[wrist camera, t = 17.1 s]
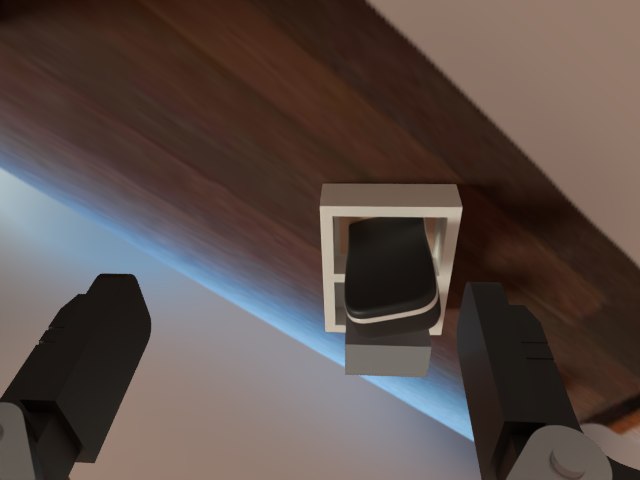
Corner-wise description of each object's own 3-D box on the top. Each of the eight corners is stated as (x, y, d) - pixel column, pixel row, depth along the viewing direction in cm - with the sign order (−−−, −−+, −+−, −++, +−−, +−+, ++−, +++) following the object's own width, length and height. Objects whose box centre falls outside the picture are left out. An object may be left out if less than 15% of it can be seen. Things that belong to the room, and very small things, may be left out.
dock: (327, 306, 52) (321, 386, 44) (322, 183, 43) (313, 257, 35) (436, 309, 51) (449, 391, 43) (456, 184, 42) (477, 260, 34)
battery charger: (357, 254, 46) (355, 351, 37) (345, 222, 44) (340, 317, 35) (432, 238, 44) (449, 336, 35) (423, 204, 42) (439, 299, 33)
